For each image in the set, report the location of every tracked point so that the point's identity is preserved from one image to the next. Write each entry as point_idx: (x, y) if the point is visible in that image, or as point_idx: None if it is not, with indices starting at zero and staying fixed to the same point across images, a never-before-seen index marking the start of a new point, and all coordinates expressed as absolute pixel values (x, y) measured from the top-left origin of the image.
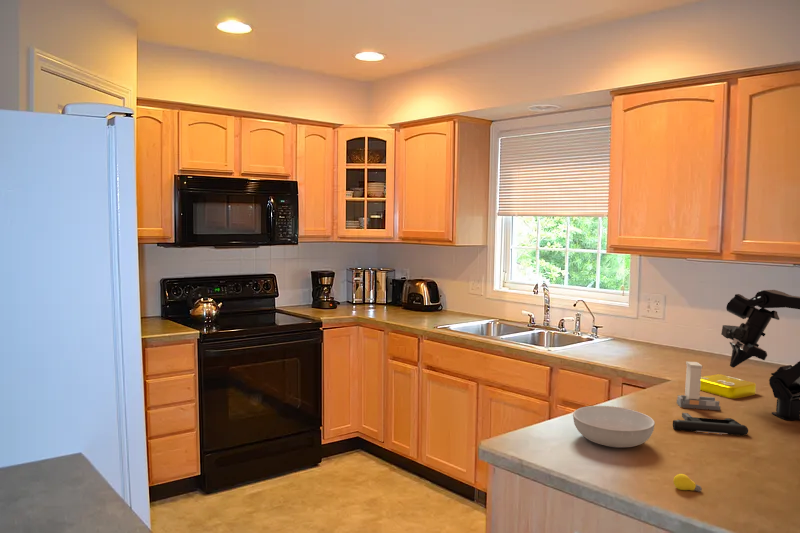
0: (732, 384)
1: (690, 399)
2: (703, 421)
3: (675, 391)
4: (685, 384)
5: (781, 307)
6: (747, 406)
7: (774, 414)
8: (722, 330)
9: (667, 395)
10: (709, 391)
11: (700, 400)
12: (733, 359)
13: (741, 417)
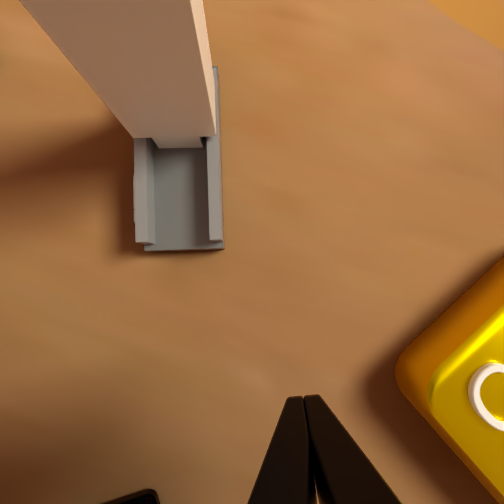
0: (479, 411)
1: None
2: None
3: (439, 122)
4: (208, 43)
5: None
6: (264, 408)
7: (130, 496)
8: None
9: (348, 66)
10: (475, 287)
11: (134, 146)
12: (284, 484)
13: (57, 319)
